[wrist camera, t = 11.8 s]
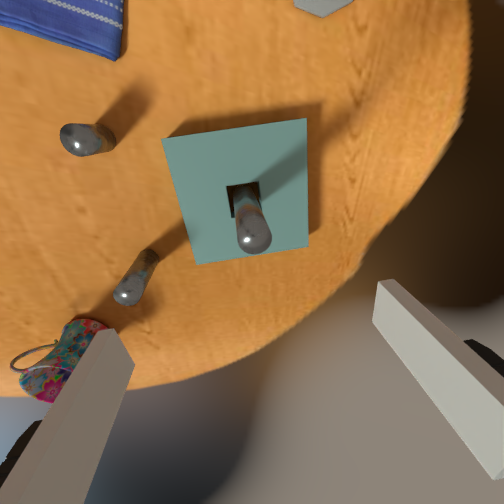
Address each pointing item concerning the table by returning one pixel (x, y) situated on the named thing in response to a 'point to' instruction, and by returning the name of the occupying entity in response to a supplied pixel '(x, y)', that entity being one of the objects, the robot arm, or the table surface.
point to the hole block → (239, 172)
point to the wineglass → (321, 6)
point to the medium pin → (136, 278)
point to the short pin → (87, 139)
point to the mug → (57, 360)
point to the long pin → (250, 222)
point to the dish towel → (69, 22)
